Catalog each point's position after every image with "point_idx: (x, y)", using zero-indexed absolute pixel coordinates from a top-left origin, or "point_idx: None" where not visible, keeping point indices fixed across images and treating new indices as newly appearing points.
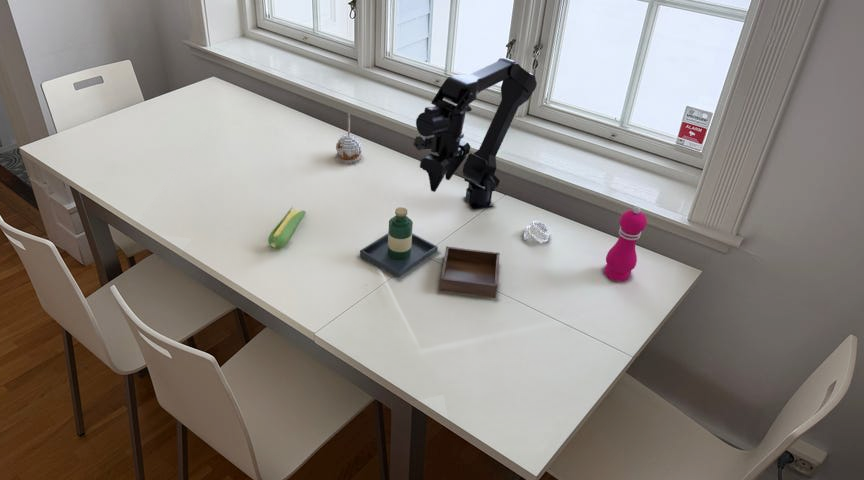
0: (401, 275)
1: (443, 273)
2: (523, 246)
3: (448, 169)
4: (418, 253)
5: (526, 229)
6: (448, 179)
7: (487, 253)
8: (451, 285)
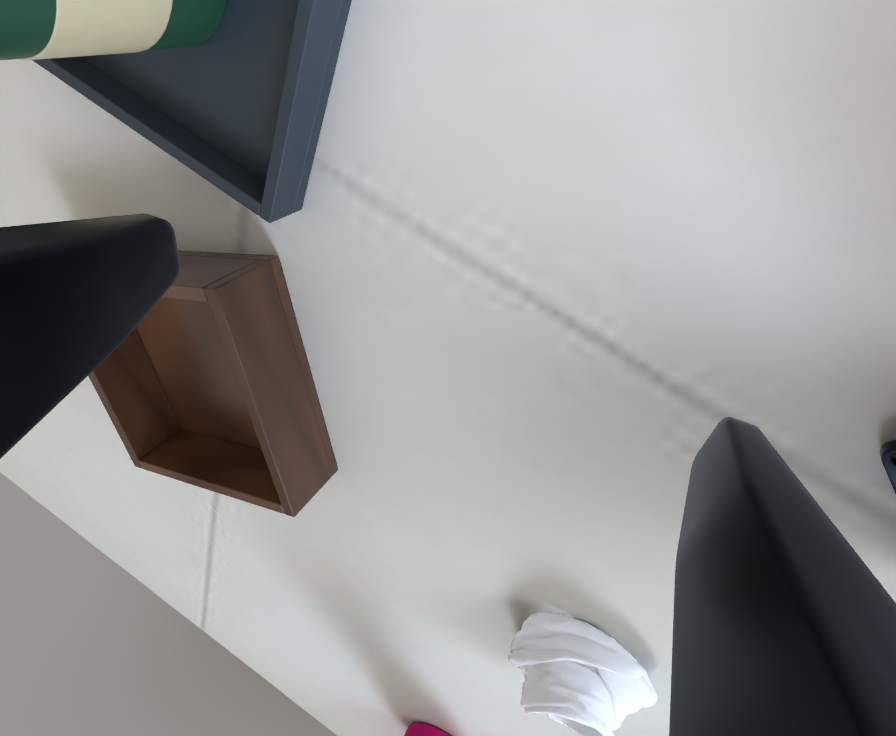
0: None
1: None
2: (500, 589)
3: (742, 619)
4: (225, 98)
5: (570, 658)
6: (694, 462)
7: (271, 471)
8: None
